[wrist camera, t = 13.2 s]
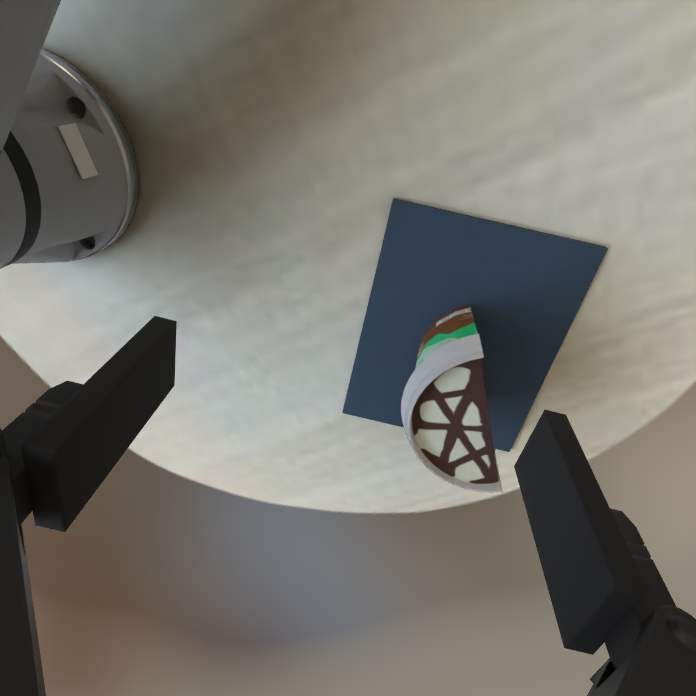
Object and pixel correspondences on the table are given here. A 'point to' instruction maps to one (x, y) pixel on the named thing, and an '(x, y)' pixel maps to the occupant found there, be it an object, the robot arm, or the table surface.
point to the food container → (451, 405)
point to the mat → (484, 299)
